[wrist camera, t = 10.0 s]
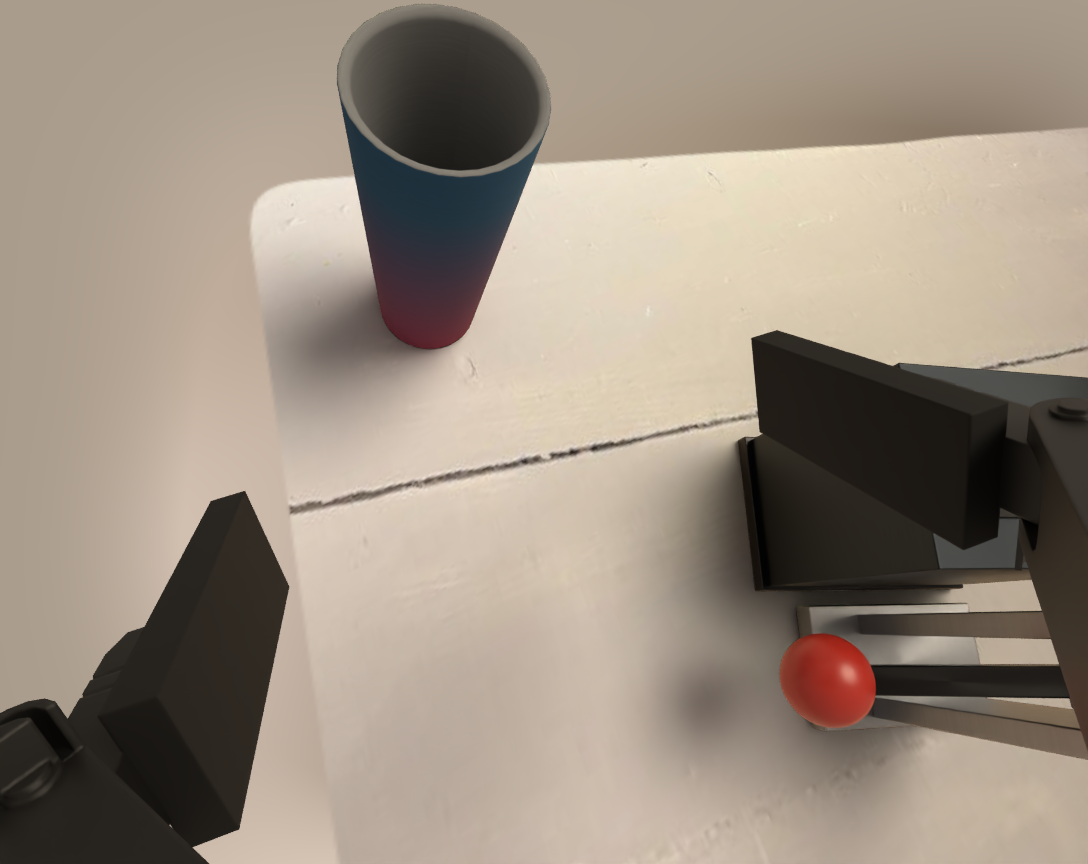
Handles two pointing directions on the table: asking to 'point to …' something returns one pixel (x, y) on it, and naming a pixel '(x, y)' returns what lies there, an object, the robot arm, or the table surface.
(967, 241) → the table surface
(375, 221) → the cup
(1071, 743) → the bracket
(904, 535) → the toaster
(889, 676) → the lever
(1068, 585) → the robot arm
